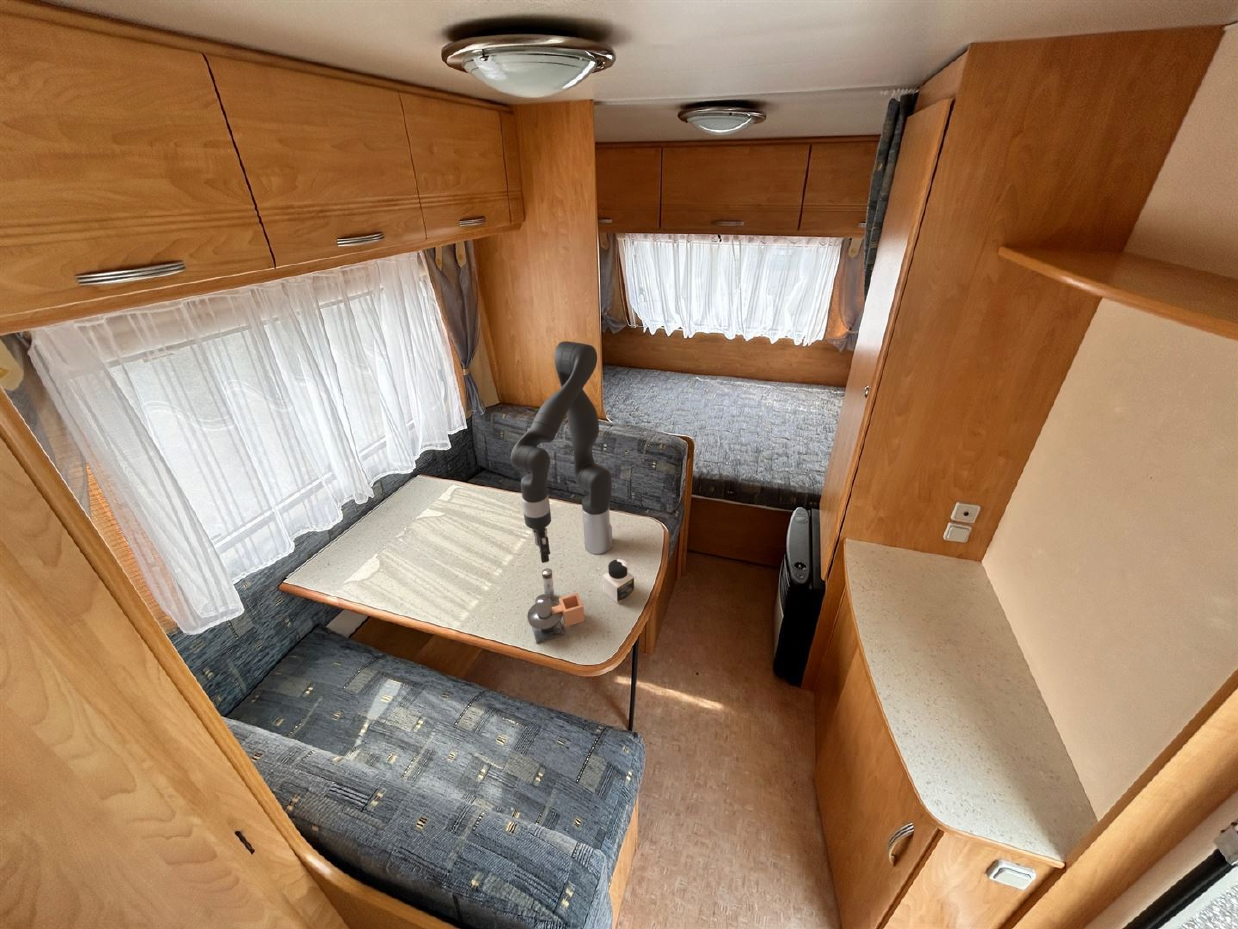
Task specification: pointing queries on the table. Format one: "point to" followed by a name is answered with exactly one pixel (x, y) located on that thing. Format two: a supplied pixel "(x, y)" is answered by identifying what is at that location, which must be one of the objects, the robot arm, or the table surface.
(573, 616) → the bracket
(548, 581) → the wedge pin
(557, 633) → the grey ball joystick
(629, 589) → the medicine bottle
